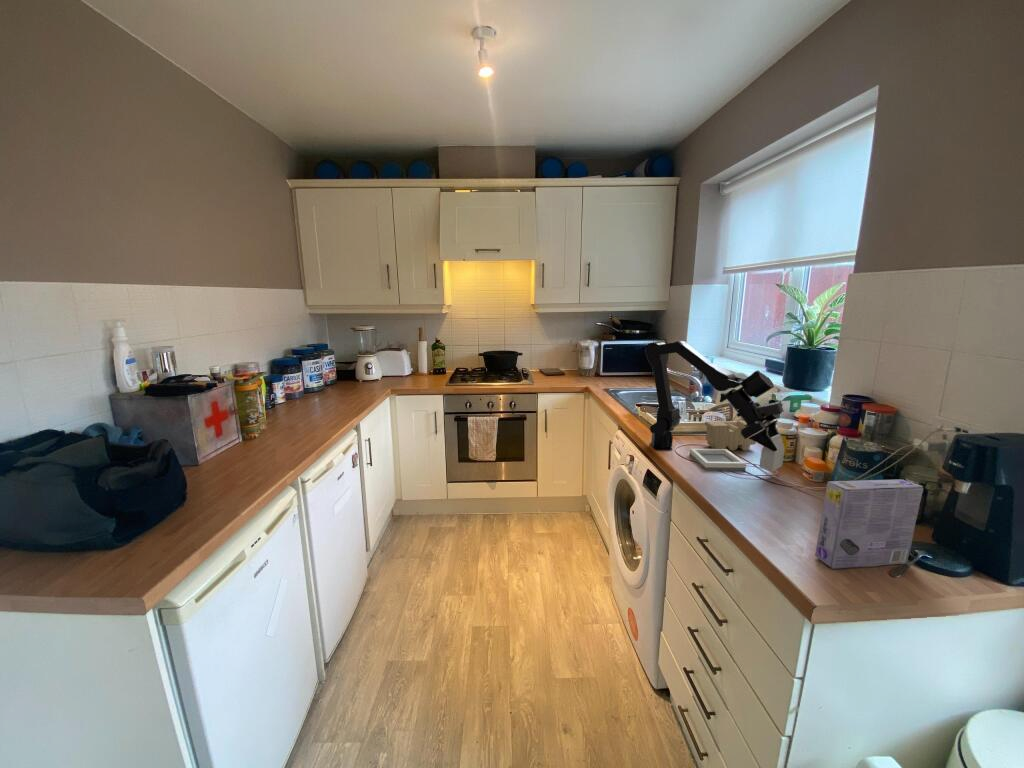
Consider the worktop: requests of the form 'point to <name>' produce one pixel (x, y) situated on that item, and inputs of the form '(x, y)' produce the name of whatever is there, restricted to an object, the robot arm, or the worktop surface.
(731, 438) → the toy train
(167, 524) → the worktop surface
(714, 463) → the tray
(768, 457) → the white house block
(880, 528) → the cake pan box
